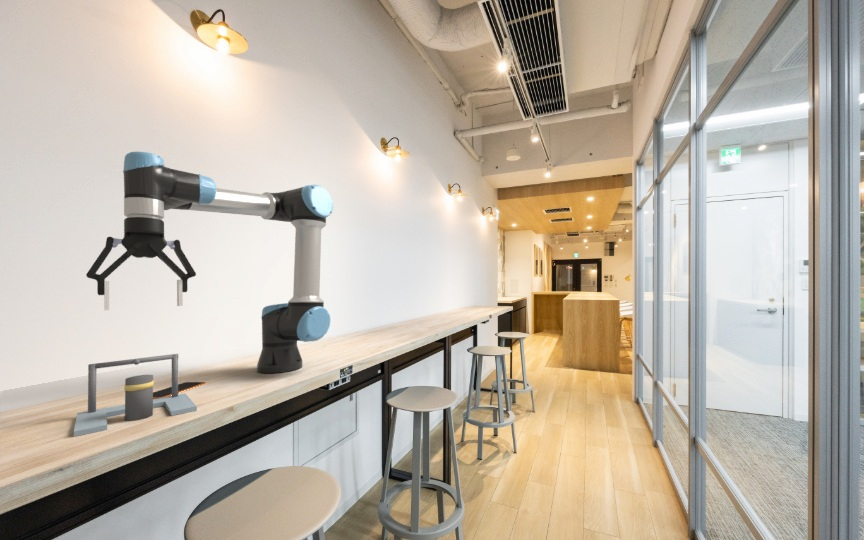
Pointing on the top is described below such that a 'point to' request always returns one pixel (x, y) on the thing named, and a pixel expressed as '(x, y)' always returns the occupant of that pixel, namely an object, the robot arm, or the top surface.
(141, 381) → the yellow-banded grey cylinder
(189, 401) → the arch on base
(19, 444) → the top surface
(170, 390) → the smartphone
